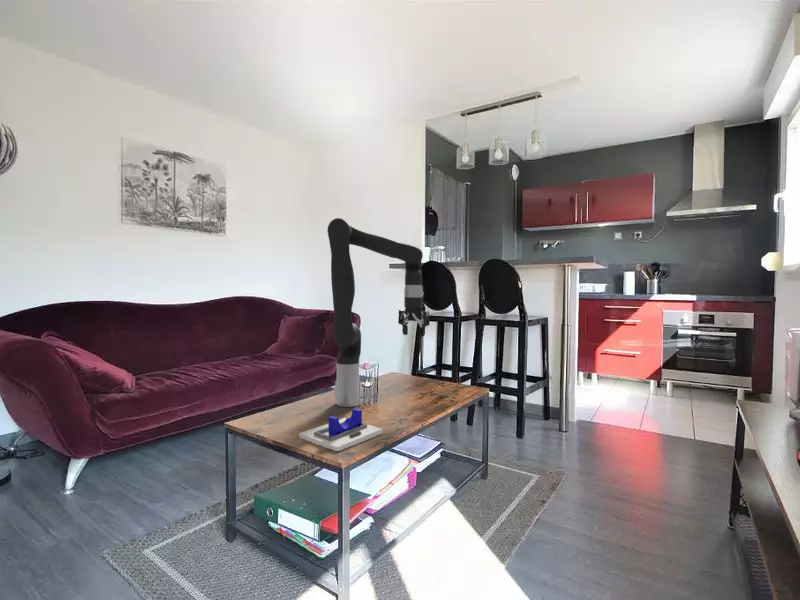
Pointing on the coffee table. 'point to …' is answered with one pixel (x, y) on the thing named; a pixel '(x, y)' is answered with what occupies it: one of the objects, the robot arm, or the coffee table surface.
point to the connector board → (340, 436)
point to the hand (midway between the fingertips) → (413, 335)
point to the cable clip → (345, 423)
